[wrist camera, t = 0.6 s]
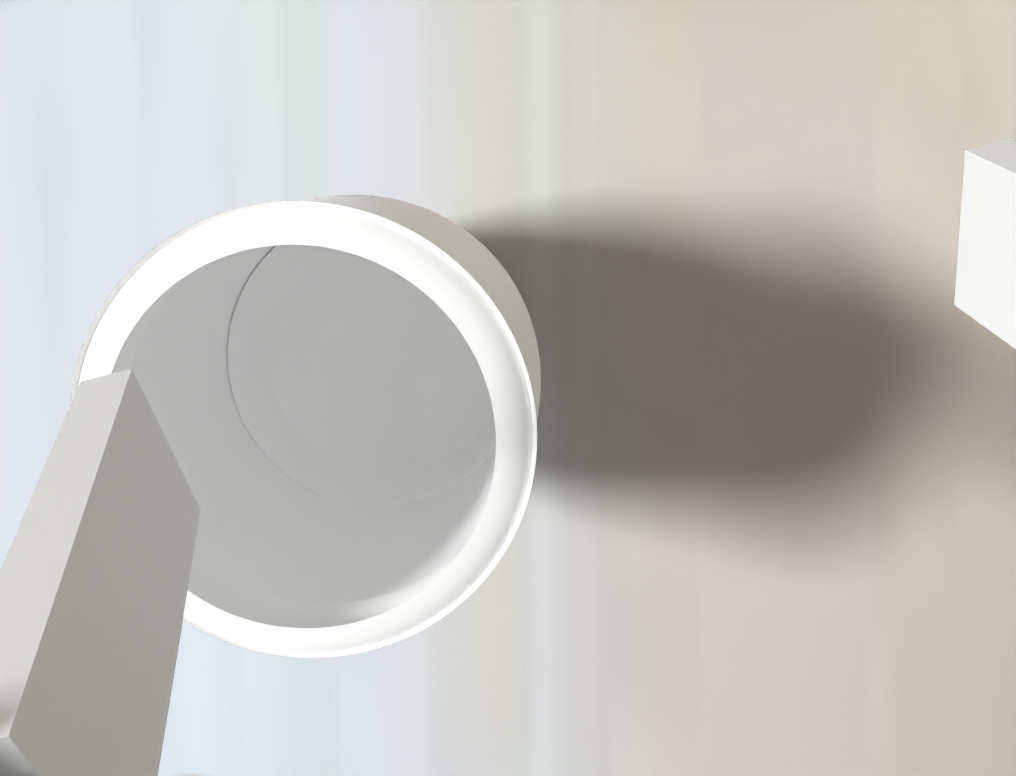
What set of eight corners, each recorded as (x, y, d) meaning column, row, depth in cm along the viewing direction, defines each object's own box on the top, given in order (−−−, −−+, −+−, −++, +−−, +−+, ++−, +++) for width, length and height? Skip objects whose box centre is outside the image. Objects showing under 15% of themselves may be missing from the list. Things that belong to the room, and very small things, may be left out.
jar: (393, 128, 33) (269, 89, 19) (601, 324, 34) (640, 433, 20) (210, 342, 35) (-32, 458, 21) (413, 519, 36) (321, 748, 22)
